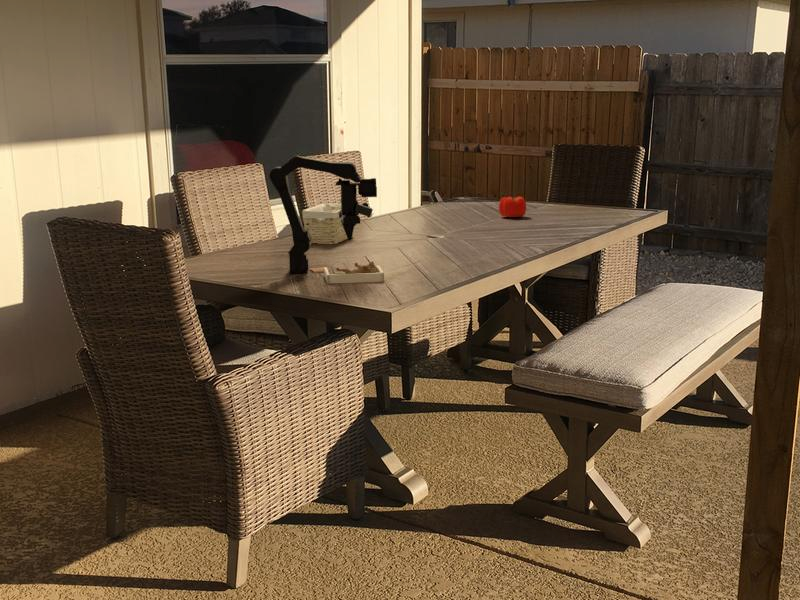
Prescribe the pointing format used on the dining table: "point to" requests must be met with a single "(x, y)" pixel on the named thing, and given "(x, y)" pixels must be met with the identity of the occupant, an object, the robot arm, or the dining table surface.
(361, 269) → the lion figurine
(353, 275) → the frame
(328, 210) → the storage basket
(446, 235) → the dining table surface
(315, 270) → the terracotta tile
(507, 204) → the tomato
